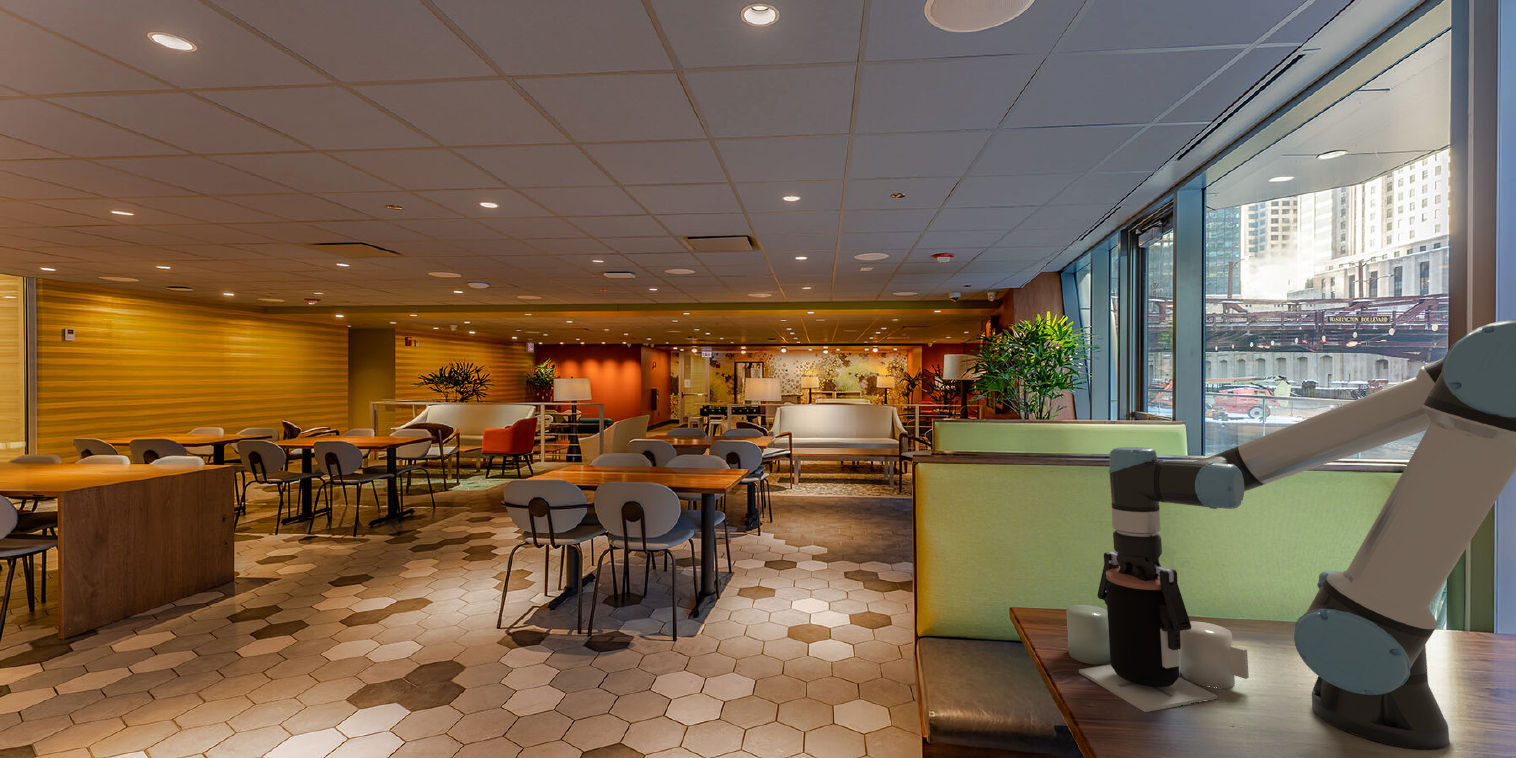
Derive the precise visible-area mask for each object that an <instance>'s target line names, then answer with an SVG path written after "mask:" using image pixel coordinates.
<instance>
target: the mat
mask: <svg viewBox="0 0 1516 758" xmlns="http://www.w3.org/2000/svg"><path fill="white" fill-rule="evenodd" d="M1078 673H1079V674H1080V675H1082V676H1083V677H1086V678H1087V679H1089V680H1091V681H1092V682H1093V683H1095V684H1097V685H1098V686H1100V687H1102V688H1104V689H1105V690H1107V691H1109V692H1110V693H1112V694H1113V695H1116V696H1117V697H1119V698H1120V699H1122V700H1124V701H1125V702H1127V703H1129V704H1131V705H1132V706H1134V707H1135V708H1137V709H1139V710H1141V711H1142V712H1144V713H1148V712H1153V711H1160V710H1166V709H1171V708H1176V707H1181V705H1183V706H1187V705H1192V704H1191V703H1194V702H1199V701H1204V700H1211V701H1214V700H1213V699H1216V700H1218V695H1216V694H1215V693H1212V692H1210V691H1208V690H1206V689H1204V688H1203V687H1200V686H1199V685H1197V684H1195V683H1193V682H1190V681H1188V680H1187V679H1185V678H1183V677H1180V676H1179V677H1178V679H1177V680H1176V681H1175V683H1174V684H1173V685H1171V686H1168V687H1149V686H1143V685H1139V684H1136V683H1132V682H1130V681H1127V680H1125V679H1123V678H1122V677H1120V676H1118V674H1117V673H1116V672H1115V670H1114V669H1113V668H1112V666H1111V664H1106V665H1097V666H1094V667H1087V668H1081V669H1078ZM1199 703H1200V702H1199ZM1194 704H1195V703H1194Z"/></svg>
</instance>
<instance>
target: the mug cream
mask: <svg viewBox="0 0 1516 758" xmlns="http://www.w3.org/2000/svg"><path fill="white" fill-rule="evenodd" d="M1190 624H1191V629H1189V630H1182V631H1180V641H1181V643H1180V644H1181V648H1180V649H1179V657H1180V661H1179V662H1180V673H1181V674H1182V675H1181V674H1180V675H1181V676H1182V678H1183V679H1185V678H1186V679H1185V680H1187V679H1188V680H1189V681H1188V680H1187V681H1188V682H1190V681H1191V682H1190V683H1193V682H1194V683H1193V684H1195V683H1196V684H1195V685H1198V684H1200V685H1199V686H1201V685H1204V686H1203V687H1205V686H1210V687H1215V688H1214V689H1217V688H1227V689H1231V688H1230V687H1232V686H1234V687H1235V685H1236V681H1235V679H1236V678H1235V677H1238V678H1241V679H1245V680H1247V679H1249V676H1250V675H1249V659H1248V658H1249V657H1248V648H1244V647H1241V646H1237V645H1233V634H1232V632H1231V630H1229V629H1227V628H1225V627H1224V626H1221V625H1217V624H1214V623H1210V622H1205V621H1204V622H1203V621H1196V620H1195V621H1191V620H1190ZM1234 684H1235V685H1234ZM1210 687H1209V688H1210ZM1216 687H1217V688H1216ZM1232 688H1233V687H1232Z"/></svg>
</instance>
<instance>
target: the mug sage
mask: <svg viewBox="0 0 1516 758" xmlns="http://www.w3.org/2000/svg"><path fill="white" fill-rule="evenodd" d="M1065 610H1066V628H1067V645H1068V646H1067V647H1068V649H1067V650H1068V655H1069V657H1070V658H1072V659H1074V660H1076V661H1078V662H1081V663H1084V664H1088V665H1096V666H1105V665H1111V663H1110V646H1109V627H1108V612H1107V609H1106V608H1102V607H1099V606H1095V605H1090V604H1089V605H1088V604H1072V605H1069V606H1067V607H1066V609H1065Z"/></svg>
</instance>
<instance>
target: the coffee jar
mask: <svg viewBox="0 0 1516 758" xmlns="http://www.w3.org/2000/svg"><path fill="white" fill-rule="evenodd" d="M1119 569H1120V567H1119V568H1114V569H1110V570H1108V571H1106V578H1107V579H1108V581H1109V582H1108V584H1107V585H1106V590H1107V605H1106V610H1107V609H1108V627H1109V646H1110V665H1111V666H1112V668H1113V669H1114V670H1115V672H1116V673H1117V674H1118V676H1120V677H1122V678H1123V679H1125V680H1127V681H1130V682H1132V683H1136V684H1139V685H1143V686H1149V687H1168V686H1171V685H1173V684H1174V683H1175V681H1176V680H1177V679H1178V677H1180V665H1179V666H1177V667H1171V668H1165V667H1163V666H1162V650H1161V633H1160V629H1161V628H1165V627H1164V625H1163V623H1162V621H1161V619H1160V610H1159V605H1167V604H1166V601H1165V598H1164V595H1163V592H1162V589H1161V585H1160V580H1158V579H1156V580H1151V581H1142V580H1139V579H1138V578H1137V577H1134V576H1131V575H1129V574H1122V573H1119V572H1118V571H1119ZM1170 623H1172V621H1171V620H1170Z"/></svg>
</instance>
